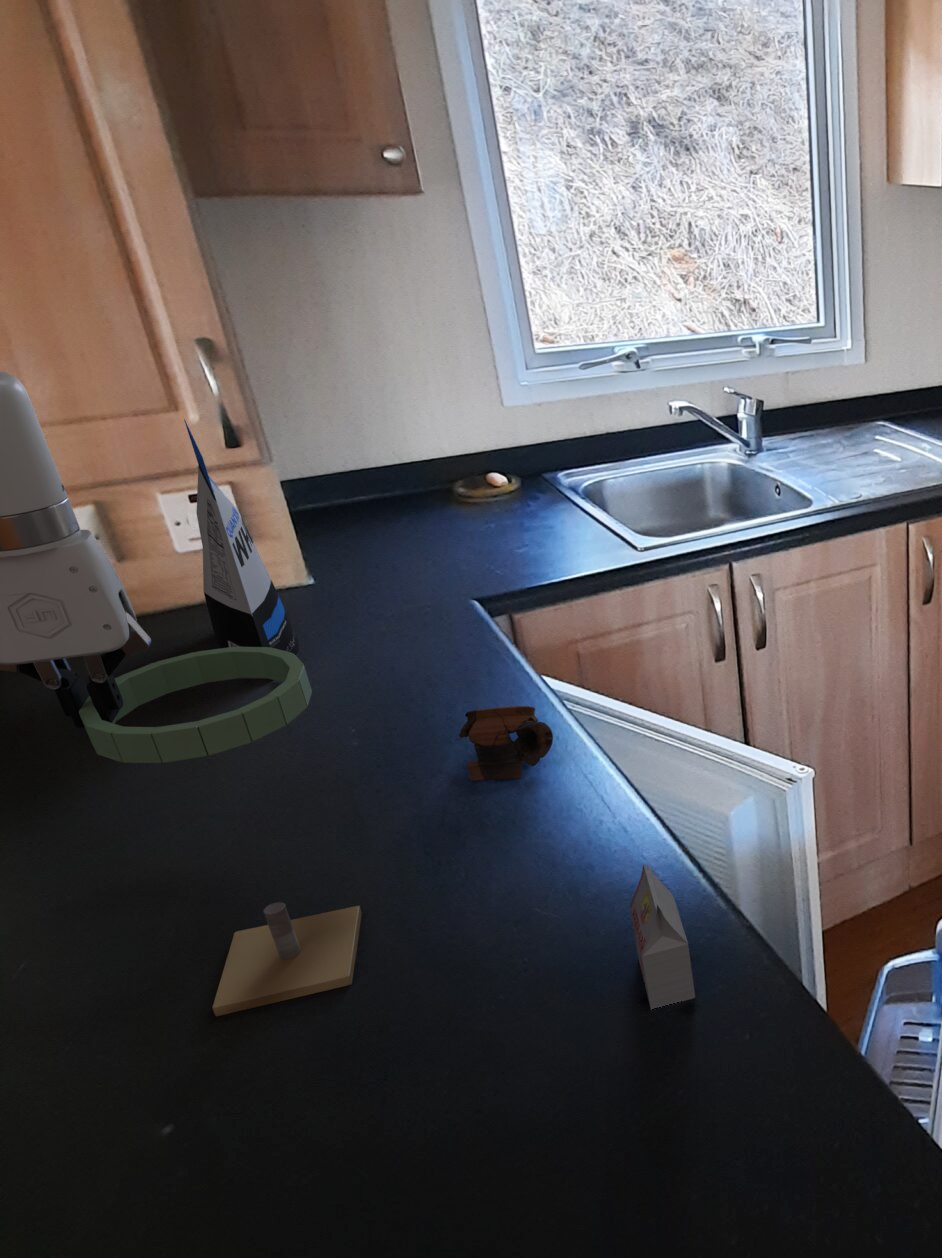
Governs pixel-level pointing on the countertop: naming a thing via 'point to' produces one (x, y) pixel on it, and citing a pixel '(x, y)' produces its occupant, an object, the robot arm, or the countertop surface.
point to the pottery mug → (505, 741)
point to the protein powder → (236, 575)
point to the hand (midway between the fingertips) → (98, 717)
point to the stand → (288, 958)
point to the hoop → (210, 731)
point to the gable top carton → (661, 943)
